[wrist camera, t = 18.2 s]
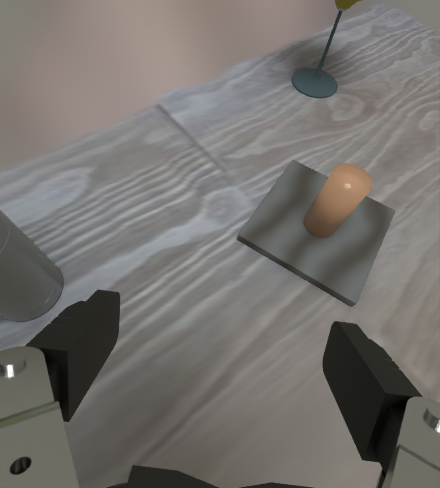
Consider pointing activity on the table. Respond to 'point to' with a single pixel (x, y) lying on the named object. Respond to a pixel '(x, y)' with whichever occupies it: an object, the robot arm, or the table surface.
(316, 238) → the charcoal board
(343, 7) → the cocktail glass
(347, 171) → the tan dome-topped cylinder
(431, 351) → the table surface
